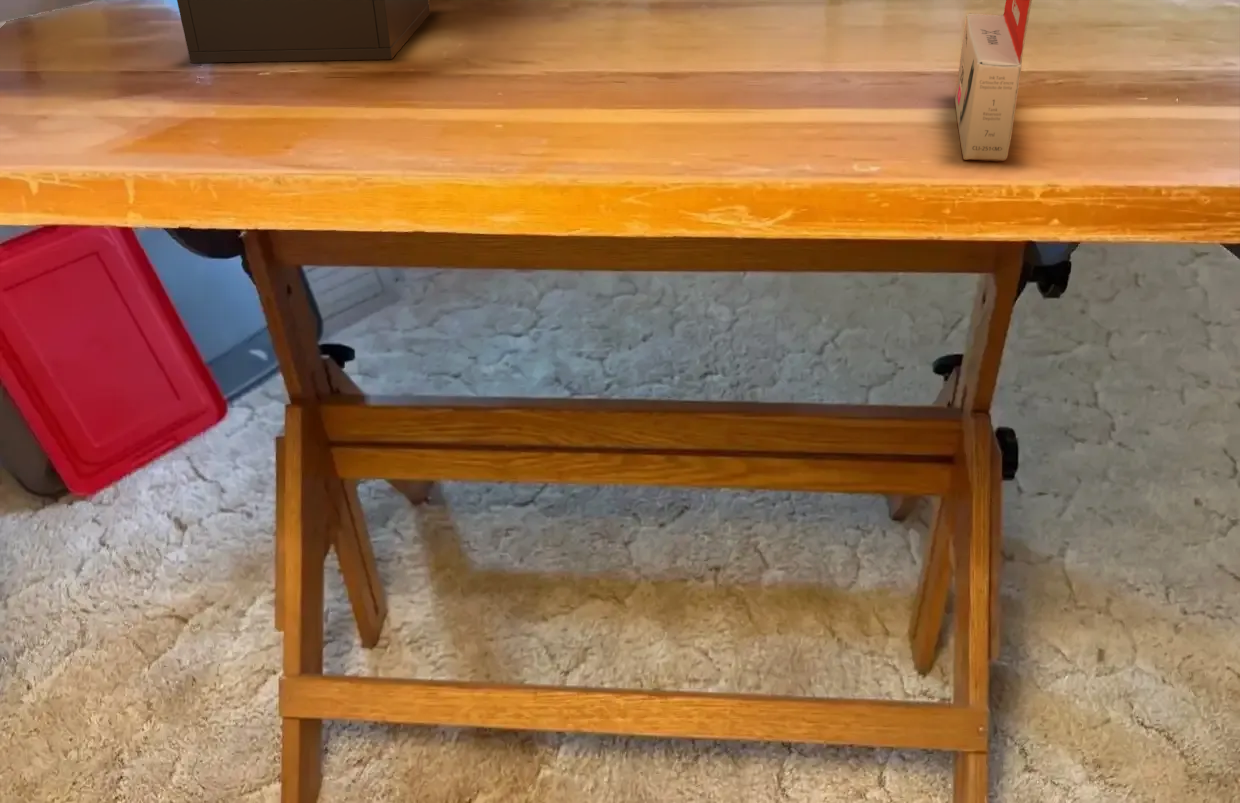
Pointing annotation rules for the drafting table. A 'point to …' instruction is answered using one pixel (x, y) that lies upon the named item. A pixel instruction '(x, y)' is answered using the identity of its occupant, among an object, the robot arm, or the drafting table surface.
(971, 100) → the ink box
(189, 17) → the bin
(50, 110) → the drafting table surface
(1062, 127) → the drafting table surface
